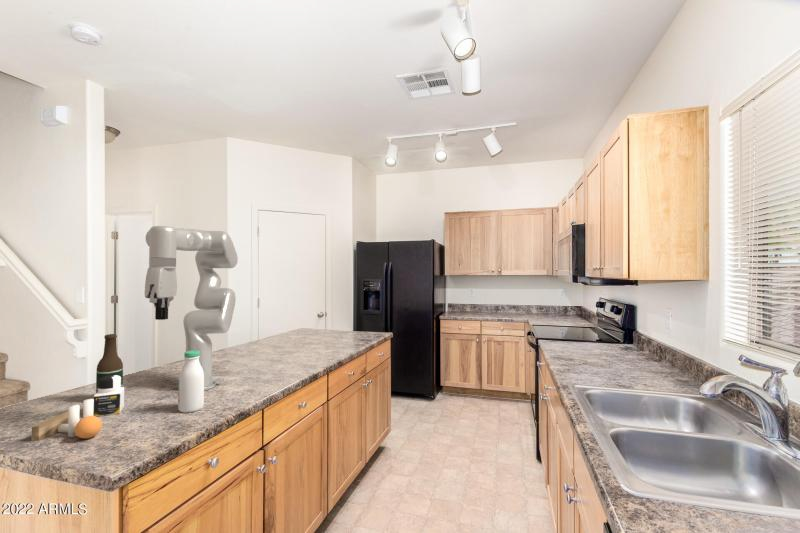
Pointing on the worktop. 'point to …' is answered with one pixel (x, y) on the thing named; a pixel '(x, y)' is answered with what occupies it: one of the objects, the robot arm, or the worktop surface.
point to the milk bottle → (191, 384)
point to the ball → (88, 427)
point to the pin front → (63, 428)
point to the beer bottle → (109, 361)
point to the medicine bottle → (109, 396)
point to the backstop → (48, 426)
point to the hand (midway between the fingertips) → (161, 319)
